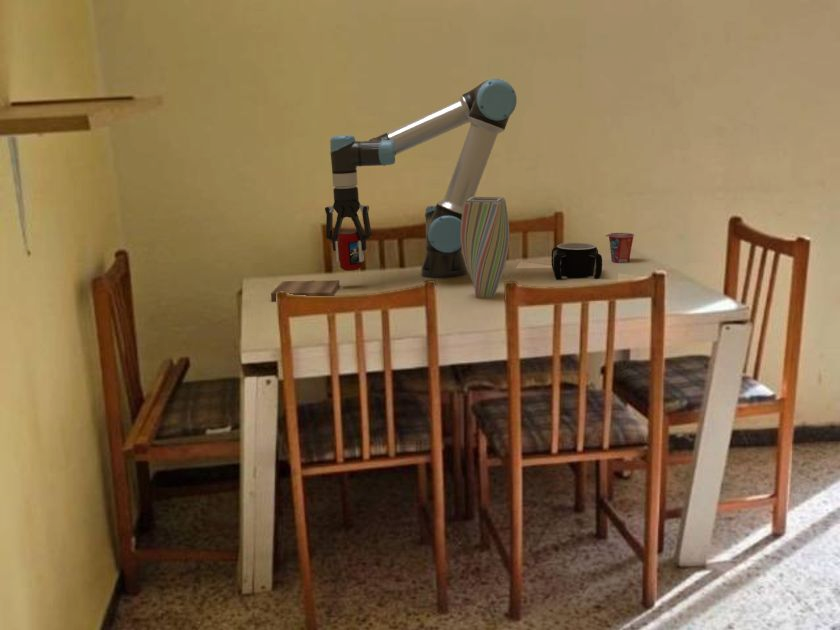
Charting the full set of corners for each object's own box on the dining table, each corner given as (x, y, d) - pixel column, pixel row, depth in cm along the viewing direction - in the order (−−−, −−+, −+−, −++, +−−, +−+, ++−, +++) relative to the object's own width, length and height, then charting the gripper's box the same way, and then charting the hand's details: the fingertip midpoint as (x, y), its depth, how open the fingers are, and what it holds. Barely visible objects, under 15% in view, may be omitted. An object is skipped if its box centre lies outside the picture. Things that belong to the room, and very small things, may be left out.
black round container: (551, 277, 290) (552, 241, 287) (602, 278, 287) (603, 241, 284) (548, 288, 275) (548, 249, 272) (601, 289, 271) (602, 250, 269)
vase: (511, 298, 263) (511, 195, 256) (505, 308, 250) (505, 201, 243) (466, 296, 266) (465, 195, 259) (458, 307, 253) (456, 201, 246)
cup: (616, 266, 306) (617, 231, 303) (638, 269, 300) (639, 234, 297) (600, 270, 300) (601, 235, 297) (621, 273, 294) (622, 237, 291)
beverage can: (358, 271, 275) (356, 232, 272) (337, 271, 276) (334, 233, 273) (364, 267, 281) (361, 229, 278) (344, 267, 283) (341, 229, 280)
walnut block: (339, 289, 283) (339, 280, 282) (331, 302, 265) (331, 292, 264) (283, 290, 284) (282, 281, 283) (271, 303, 266) (270, 293, 265)
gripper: (379, 184, 274) (384, 258, 279) (319, 186, 278) (324, 259, 284) (373, 187, 267) (377, 263, 272) (310, 189, 271) (316, 263, 277)
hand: (350, 260), depth 278 cm, fingers closed on beverage can, 7 cm apart
